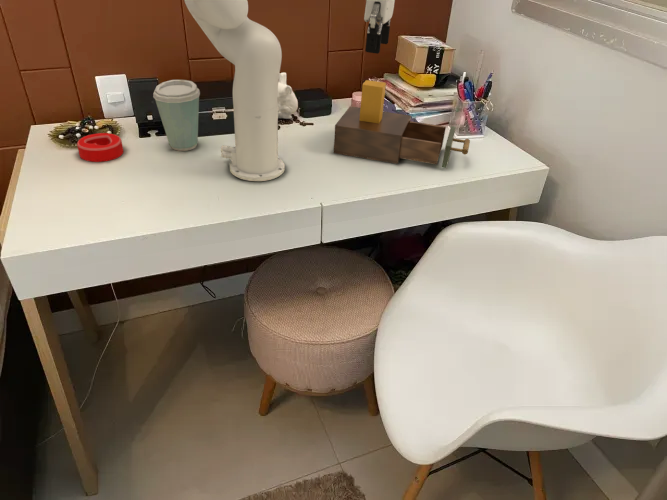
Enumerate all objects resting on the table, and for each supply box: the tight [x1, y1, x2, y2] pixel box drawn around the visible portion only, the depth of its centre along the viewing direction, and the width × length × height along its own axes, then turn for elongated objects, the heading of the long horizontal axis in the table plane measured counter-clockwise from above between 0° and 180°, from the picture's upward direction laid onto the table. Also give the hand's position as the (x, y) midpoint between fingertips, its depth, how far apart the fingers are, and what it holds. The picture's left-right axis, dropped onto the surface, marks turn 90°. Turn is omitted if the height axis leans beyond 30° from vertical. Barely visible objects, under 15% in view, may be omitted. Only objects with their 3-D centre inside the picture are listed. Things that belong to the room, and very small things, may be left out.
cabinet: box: [333, 105, 412, 165], centre depth 134 cm, size 16×14×7 cm
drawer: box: [399, 120, 471, 169], centre depth 131 cm, size 20×13×6 cm
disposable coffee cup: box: [152, 79, 201, 152], centre depth 126 cm, size 11×11×15 cm
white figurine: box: [278, 72, 299, 120], centre depth 147 cm, size 8×7×12 cm
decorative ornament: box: [76, 132, 124, 163], centre depth 124 cm, size 10×10×3 cm
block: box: [359, 79, 387, 124], centre depth 130 cm, size 5×4×9 cm
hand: (376, 47), depth 122 cm, fingers open, 9 cm apart
